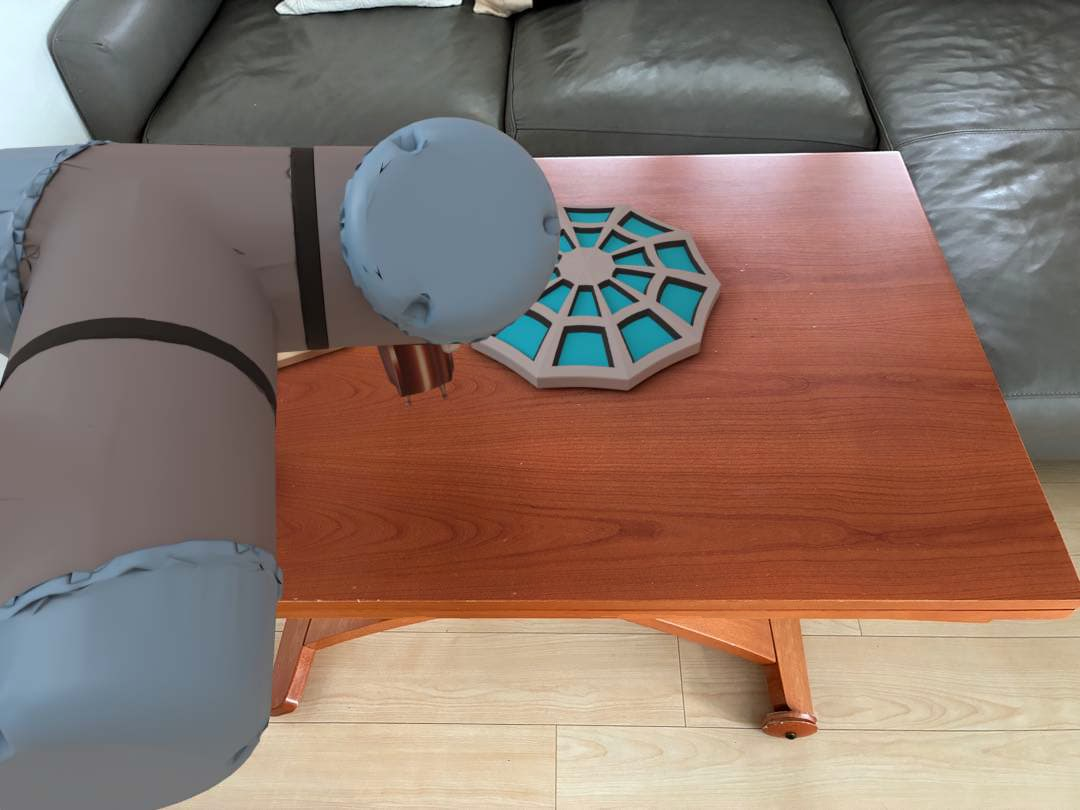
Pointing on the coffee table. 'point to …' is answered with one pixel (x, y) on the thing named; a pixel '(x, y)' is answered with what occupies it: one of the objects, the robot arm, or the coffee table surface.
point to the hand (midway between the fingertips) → (393, 301)
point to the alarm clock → (417, 368)
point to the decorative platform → (611, 303)
